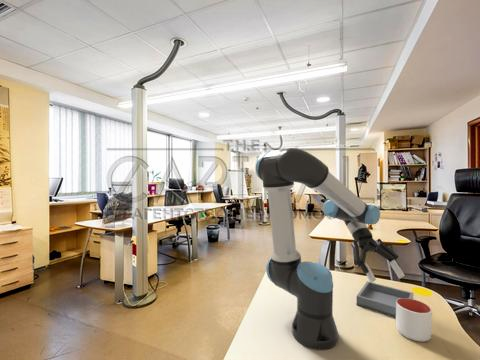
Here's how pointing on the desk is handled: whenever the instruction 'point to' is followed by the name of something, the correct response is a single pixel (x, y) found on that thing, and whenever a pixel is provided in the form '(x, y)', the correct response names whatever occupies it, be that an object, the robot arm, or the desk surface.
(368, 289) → the tray
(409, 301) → the cup
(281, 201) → the robot arm
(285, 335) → the desk surface
